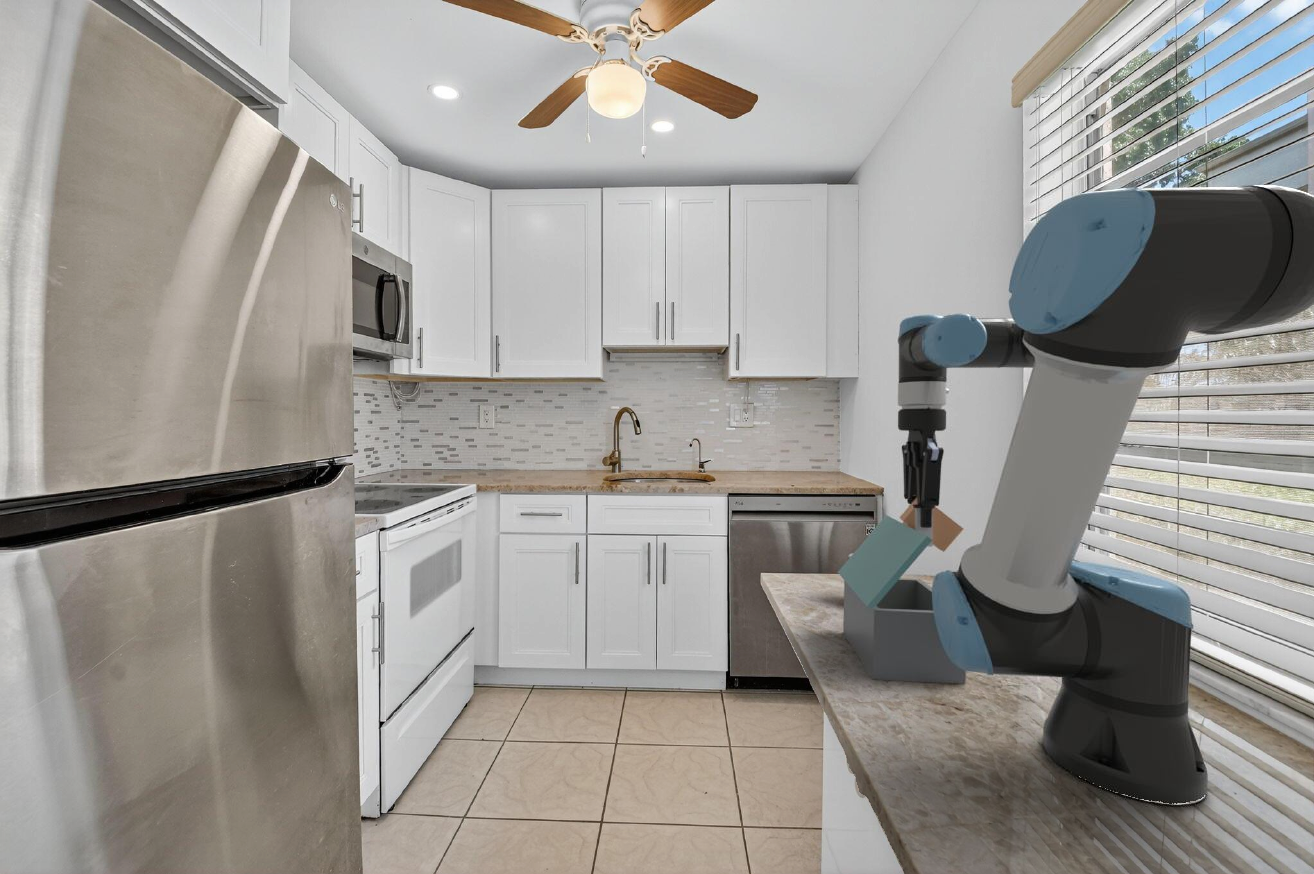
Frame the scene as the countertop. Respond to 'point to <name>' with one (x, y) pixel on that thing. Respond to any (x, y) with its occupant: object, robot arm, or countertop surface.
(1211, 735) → the countertop surface
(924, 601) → the tub
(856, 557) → the lid
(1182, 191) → the robot arm
